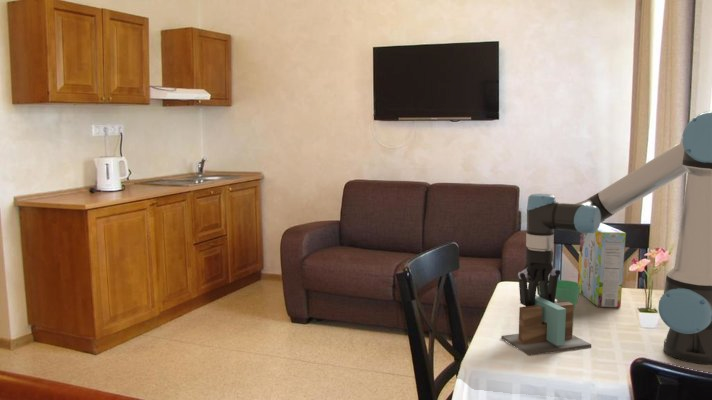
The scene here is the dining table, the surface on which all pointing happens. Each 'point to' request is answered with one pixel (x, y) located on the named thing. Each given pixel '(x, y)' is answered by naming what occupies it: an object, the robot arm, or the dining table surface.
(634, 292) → the dining table surface
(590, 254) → the snack box
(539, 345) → the slotted stand
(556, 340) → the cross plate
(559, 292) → the mug
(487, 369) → the dining table surface
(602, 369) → the dining table surface
